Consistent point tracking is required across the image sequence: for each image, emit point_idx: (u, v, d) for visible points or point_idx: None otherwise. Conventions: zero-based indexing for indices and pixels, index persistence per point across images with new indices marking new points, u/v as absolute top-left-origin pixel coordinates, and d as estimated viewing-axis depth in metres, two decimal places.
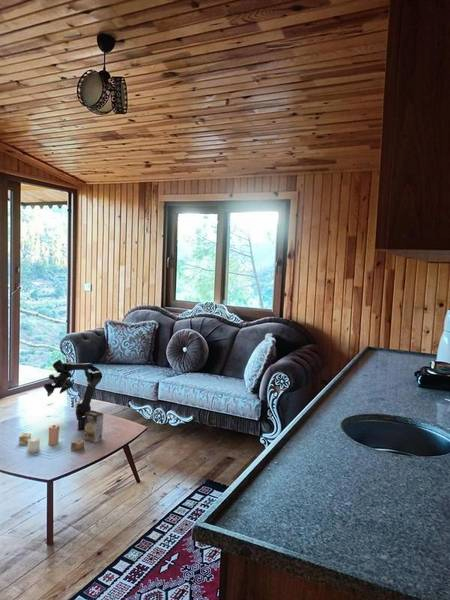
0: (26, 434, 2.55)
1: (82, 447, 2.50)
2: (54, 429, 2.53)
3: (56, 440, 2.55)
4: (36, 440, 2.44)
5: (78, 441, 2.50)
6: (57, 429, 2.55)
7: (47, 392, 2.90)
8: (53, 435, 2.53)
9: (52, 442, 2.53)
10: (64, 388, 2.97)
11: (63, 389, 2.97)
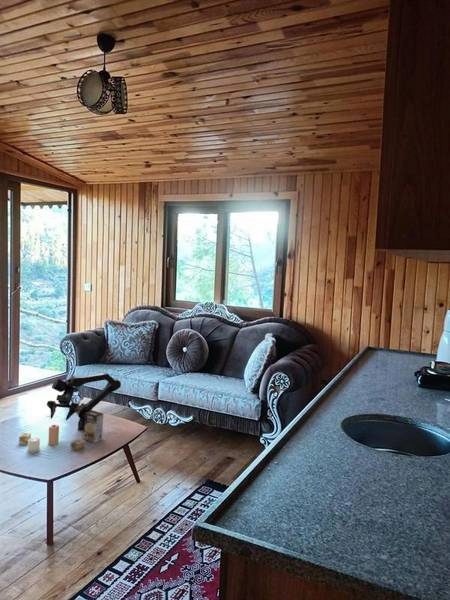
0: (26, 434, 2.55)
1: (82, 447, 2.50)
2: (54, 429, 2.53)
3: (56, 440, 2.55)
4: (36, 440, 2.44)
5: (78, 441, 2.50)
6: (57, 429, 2.55)
7: (68, 415, 2.61)
8: (53, 435, 2.53)
9: (52, 442, 2.53)
10: (54, 410, 2.65)
11: (53, 412, 2.64)
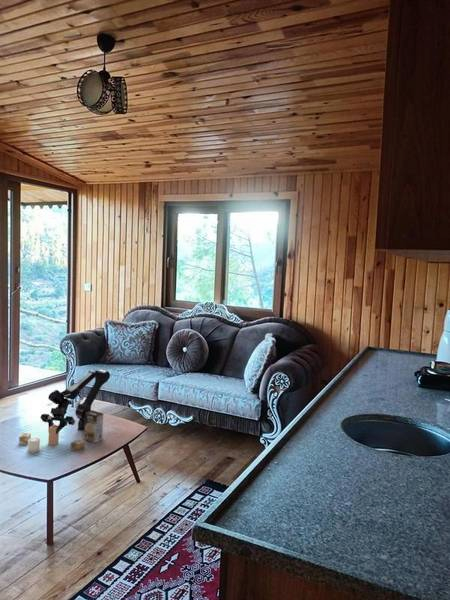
0: (26, 434, 2.55)
1: (82, 447, 2.50)
2: (54, 429, 2.53)
3: (56, 440, 2.55)
4: (36, 440, 2.44)
5: (78, 441, 2.50)
6: None
7: (59, 428, 2.54)
8: (53, 435, 2.53)
9: (51, 442, 2.53)
10: (52, 424, 2.58)
11: None
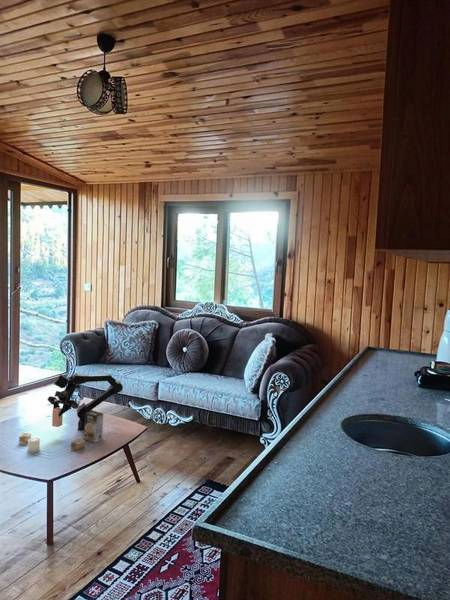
0: (26, 434, 2.55)
1: (82, 447, 2.50)
2: (57, 411, 2.62)
3: (59, 422, 2.63)
4: (36, 440, 2.44)
5: (78, 441, 2.50)
6: None
7: (62, 411, 2.63)
8: (56, 417, 2.62)
9: (55, 424, 2.63)
10: None
11: None
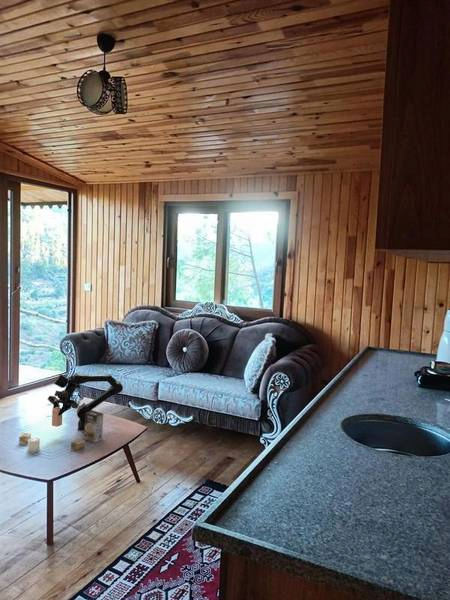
0: (26, 434, 2.55)
1: (82, 447, 2.50)
2: (56, 411, 2.62)
3: (59, 422, 2.64)
4: (36, 440, 2.44)
5: (78, 441, 2.50)
6: None
7: (61, 410, 2.63)
8: (56, 417, 2.62)
9: (54, 424, 2.63)
10: (57, 406, 2.68)
11: None
